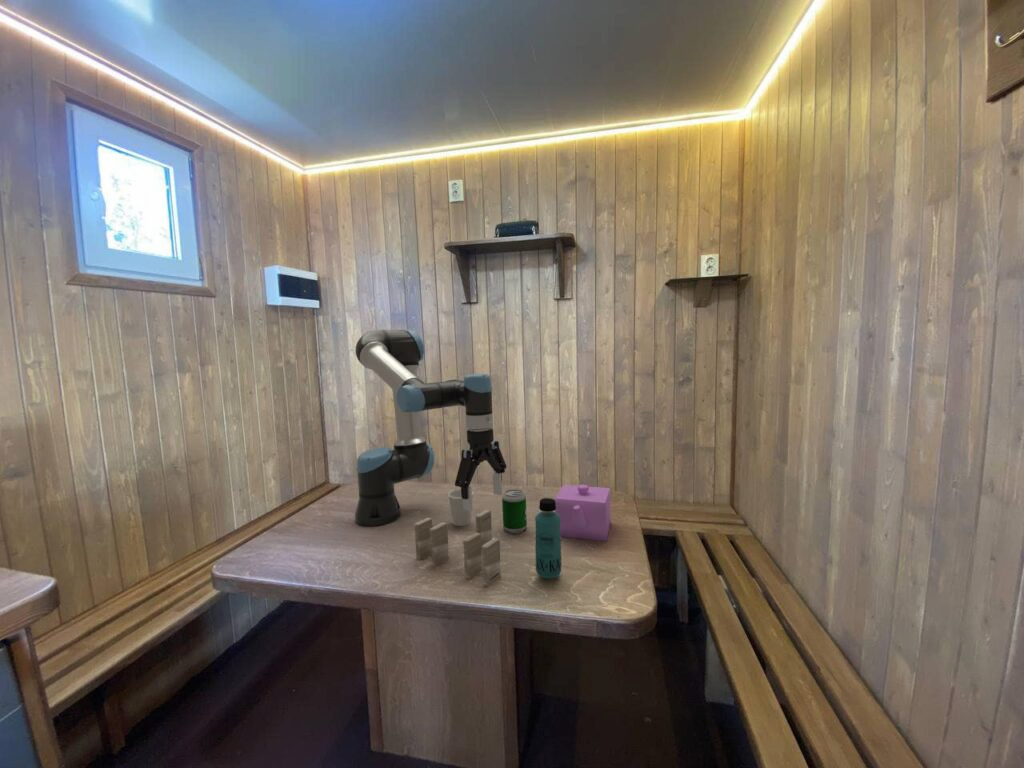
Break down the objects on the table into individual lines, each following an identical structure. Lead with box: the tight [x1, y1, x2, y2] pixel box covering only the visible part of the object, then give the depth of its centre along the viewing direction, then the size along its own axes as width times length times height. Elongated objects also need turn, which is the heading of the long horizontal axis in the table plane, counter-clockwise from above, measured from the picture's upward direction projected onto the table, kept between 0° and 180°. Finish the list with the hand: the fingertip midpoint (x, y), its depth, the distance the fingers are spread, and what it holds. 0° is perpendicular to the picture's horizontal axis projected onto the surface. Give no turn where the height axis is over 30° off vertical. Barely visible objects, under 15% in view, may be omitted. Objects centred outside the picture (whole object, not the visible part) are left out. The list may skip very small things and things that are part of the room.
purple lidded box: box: [554, 484, 611, 542], centre depth 130 cm, size 15×25×14 cm, turn 162°
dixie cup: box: [447, 488, 474, 527], centre depth 140 cm, size 8×8×10 cm
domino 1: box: [414, 517, 433, 561], centre depth 118 cm, size 2×5×10 cm, turn 145°
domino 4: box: [475, 509, 493, 547], centre depth 122 cm, size 2×5×10 cm, turn 144°
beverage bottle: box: [534, 497, 563, 579], centre depth 105 cm, size 6×7×20 cm
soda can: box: [501, 488, 528, 534], centre depth 133 cm, size 8×8×12 cm
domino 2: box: [430, 521, 450, 567], centre depth 115 cm, size 2×5×10 cm, turn 145°
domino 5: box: [482, 537, 502, 588], centre depth 104 cm, size 2×5×10 cm, turn 144°
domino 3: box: [462, 532, 483, 581], centre depth 108 cm, size 2×5×10 cm, turn 144°
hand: (483, 501), depth 121 cm, fingers open, 13 cm apart
